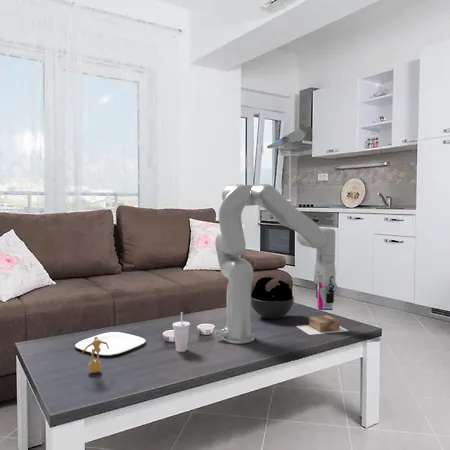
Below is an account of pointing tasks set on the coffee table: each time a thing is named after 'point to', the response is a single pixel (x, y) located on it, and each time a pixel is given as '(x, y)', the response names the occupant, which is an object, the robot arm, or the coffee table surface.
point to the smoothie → (181, 334)
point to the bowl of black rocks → (271, 299)
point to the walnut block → (324, 323)
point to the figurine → (95, 364)
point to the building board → (312, 331)
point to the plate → (112, 343)
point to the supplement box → (323, 298)
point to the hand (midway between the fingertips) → (324, 300)
